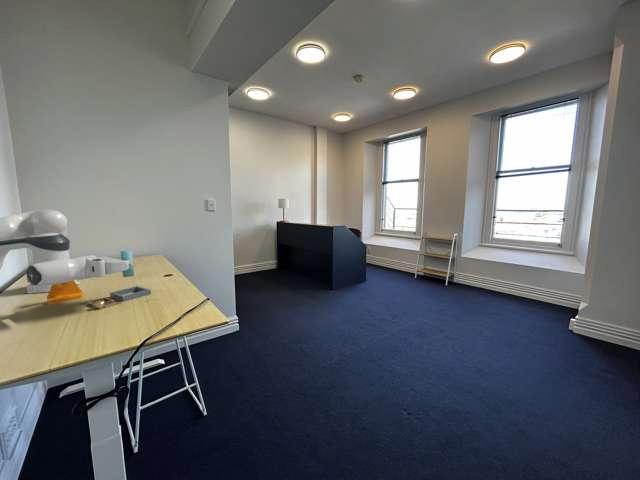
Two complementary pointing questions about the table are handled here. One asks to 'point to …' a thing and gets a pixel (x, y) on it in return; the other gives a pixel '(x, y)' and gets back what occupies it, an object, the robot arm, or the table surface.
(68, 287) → the bracket
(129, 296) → the tray
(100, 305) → the bench dog
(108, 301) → the jig plate
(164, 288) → the table surface
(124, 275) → the dowel
